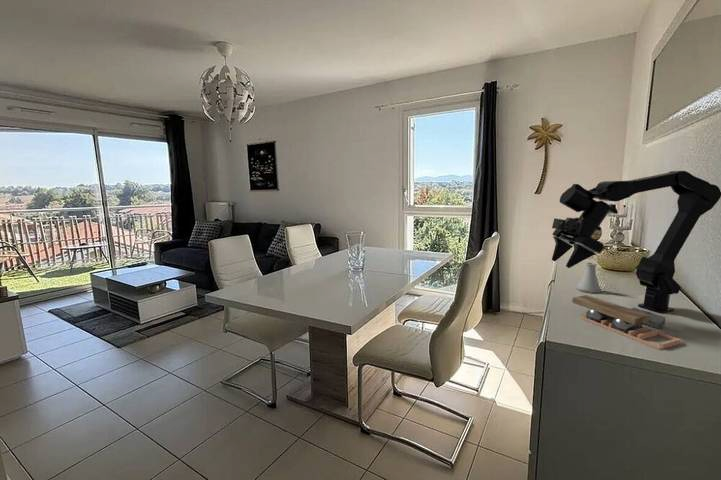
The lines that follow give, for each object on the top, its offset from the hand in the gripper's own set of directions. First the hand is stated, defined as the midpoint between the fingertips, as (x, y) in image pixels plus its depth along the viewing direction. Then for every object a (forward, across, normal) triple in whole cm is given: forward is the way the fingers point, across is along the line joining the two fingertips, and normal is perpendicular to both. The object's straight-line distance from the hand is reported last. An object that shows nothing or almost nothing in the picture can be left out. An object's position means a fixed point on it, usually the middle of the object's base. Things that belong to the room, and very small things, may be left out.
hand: (560, 263), depth 104 cm
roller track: (+7, +15, +17) cm, 24 cm away
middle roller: (+7, +15, +17) cm, 24 cm away
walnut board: (+5, +10, +13) cm, 18 cm away
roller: (+3, +11, +24) cm, 26 cm away
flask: (+3, -18, +24) cm, 30 cm away
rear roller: (+9, +9, +14) cm, 19 cm away
